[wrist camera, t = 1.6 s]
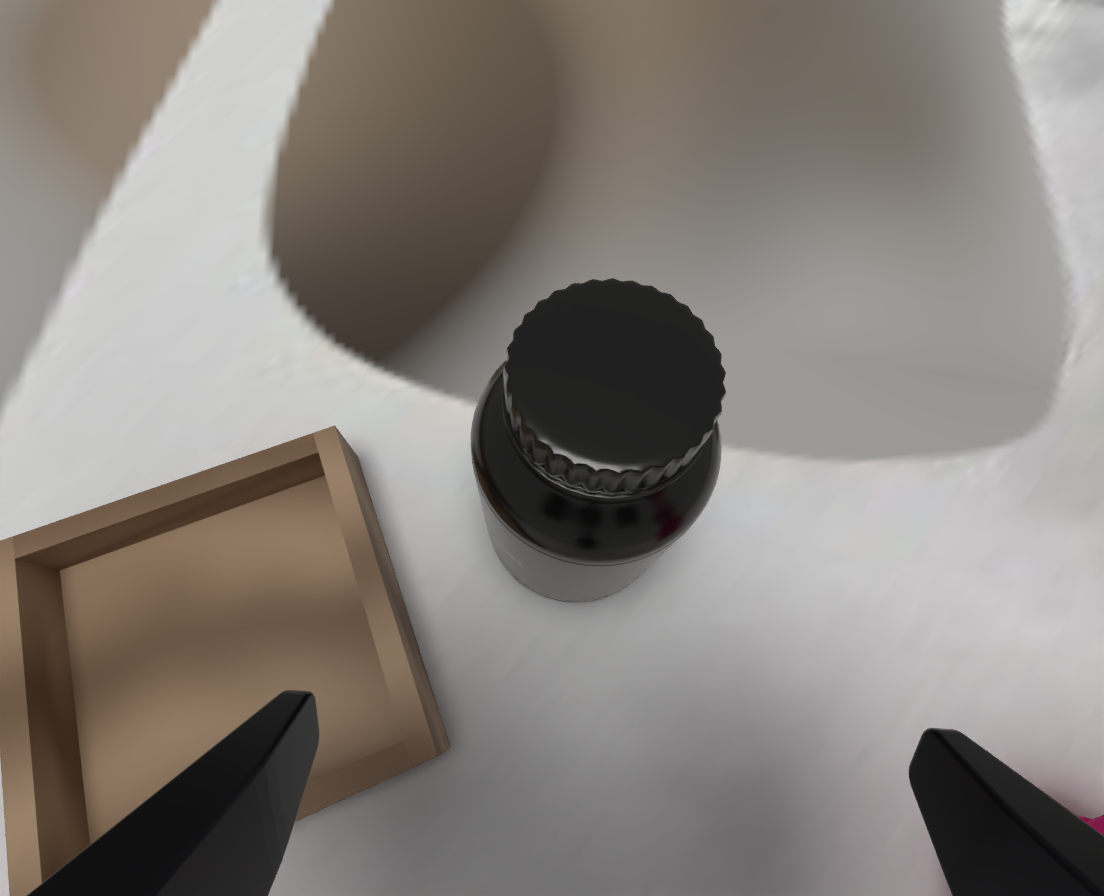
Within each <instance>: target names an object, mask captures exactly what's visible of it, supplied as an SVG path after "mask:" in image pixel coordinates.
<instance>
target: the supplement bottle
mask: <svg viewBox="0 0 1104 896" xmlns="http://www.w3.org/2000/svg"><path fill="white" fill-rule="evenodd" d="M725 374H726V373H725V371H724V368H723V367H722V365H721V353H720V351H719V350H718V349H717V348H716V347H715V343H714V337H713V336H712V335H711V334H710V333H709V332H708V331H707V330H706V329H705V327H704V324H703V321H702V320H701V319H700V318H698V317H696V316H695V315H693V314H692V312H691V310H690V309H689V307H688V306H687V305H684V304H681V303H679V302H678V301H676V299H675V298H674V297H673V296H672V295H670V294H667V293H662V292H660V291H658V290H657V289H656V288H654V287H653V286H644V285H640V284H638V283H636V282H634V281H624V282H622V281H619V280H616V279H613V278H612V279H608V280H604V281H599V280H594V279H592V280H590V281H587V282H585V283H582V284H579V283H575V284H571V285H570V286H568V287H567V288H566V289H563V290H557V291H554V292H553V293H552V294H551V295H550V297H549V298H547V299H544V300H541V301H539V302H538V303H537V305H536V306H535V308H534V310H532V311H531V312H528V313H527V314H525V316H524V319H523V322H522V324H521V325H520V326H519V327H517V328H516V329H515V330H514V333H513V341H512V342H511V344H510V345H509V346H508V348H507V350H506V361H504V363H503V364H502V365H501V366H500V367H499V368H498V369H497V370H496V371H495V373H494V374H493V375H492V377H491V378H490V380H489V381H488V383H487V385H486V386H485V388H484V390H483V392H482V394H481V396H480V398H479V400H478V403H477V406H476V409H475V412H474V417H473V421H472V429H471V454H472V464H473V468H474V473H475V478H476V482H477V486H478V490H479V494H480V498H481V503H482V507H483V511H484V515H485V519H486V523H487V527H488V531H489V534H490V537H491V540H492V543H493V546H494V548H495V550H496V553H497V554H498V556H499V558H500V560H501V561H502V562H503V564H504V565H505V567H506V568H507V569H508V570H509V571H510V573H511V574H512V575H513V576H514V577H515V578H516V579H517V580H519V581H520V582H521V583H522V584H524V585H525V586H527V587H528V588H530V589H531V590H533V591H535V592H537V593H539V594H541V595H544V596H546V597H549V598H553V599H557V600H562V601H571V602H582V601H591V600H596V599H600V598H603V597H606V596H609V595H611V594H613V593H615V592H618V591H619V590H621V589H623V588H624V587H626V586H627V585H629V584H630V583H631V582H633V581H634V580H635V579H636V578H638V577H639V576H640V575H641V574H642V573H643V572H644V571H645V570H646V569H647V568H648V567H649V566H650V565H651V564H652V563H653V562H654V561H655V560H657V559H658V558H659V557H660V556H661V555H662V554H663V553H664V552H665V551H666V550H667V549H668V548H669V547H670V546H671V545H672V544H673V543H674V542H675V541H677V540H678V539H679V538H680V537H681V536H682V535H683V534H684V533H685V532H686V531H687V530H688V529H689V528H690V526H691V525H692V524H693V523H694V522H695V521H696V519H697V518H698V517H699V515H700V514H701V512H702V511H703V509H704V508H705V506H706V505H707V503H708V501H709V499H710V497H711V495H712V493H713V490H714V487H715V485H716V482H717V478H718V474H719V469H720V462H721V436H720V429H719V424H718V420H717V419H718V418H719V417H720V415H721V412H722V407H721V406H722V405H721V401H722V400H723V398H724V396H725V393H726V391H725V387H724V384H723V381H724V378H725Z"/></svg>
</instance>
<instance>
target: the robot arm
mask: <svg viewBox="0 0 1104 896" xmlns="http://www.w3.org/2000/svg"><path fill="white" fill-rule="evenodd" d="M319 734H320V733H319V723H318V715H317V707H316V699H315V696H314V694H313V693H312V692H310V691H300V690H286V691H283V692H281V693H280V694H278V695H277V696H276V697H275V698H273V699H272V700H271V701H270V702H268V703H267V704H266V705H265V706H263V707H262V708H261V709H260V710H258V711H257V712H256V713H255V714H253V715H252V716H251V717H250V718H248V719H247V720H246V721H245V722H243V723H242V724H241V725H240V726H238V727H237V728H236V729H235V730H233V731H232V732H231V733H230V734H228V735H227V736H226V737H225V738H223V739H222V740H221V741H220V742H218V743H217V744H216V745H215V746H213V747H212V748H211V749H210V750H208V751H207V752H206V753H205V754H203V755H202V756H201V757H200V758H198V759H197V760H196V761H195V762H193V763H192V764H191V765H190V766H188V767H187V768H186V769H185V770H183V771H182V772H181V773H179V774H178V775H177V776H176V777H174V778H173V779H172V780H171V781H169V782H168V783H167V784H166V785H164V786H163V787H162V788H161V789H159V790H158V791H157V792H156V793H154V794H153V795H152V796H151V797H149V798H148V799H147V800H146V801H144V802H143V803H142V804H141V805H139V806H138V807H137V808H136V809H134V810H133V811H132V812H131V813H129V814H128V815H127V816H126V817H124V818H123V819H122V820H121V821H119V822H118V823H117V824H116V825H114V826H113V827H112V828H111V829H109V830H108V831H107V832H106V833H104V834H103V835H102V836H101V837H99V838H98V839H97V840H96V841H94V842H93V843H92V844H91V845H89V846H88V847H87V848H86V849H84V850H83V851H82V852H81V853H79V854H78V855H77V856H76V857H74V858H73V859H72V860H71V861H69V862H68V863H67V864H66V865H64V866H63V867H62V868H61V869H59V870H58V871H57V872H56V873H54V874H53V875H52V876H51V877H49V878H48V879H47V880H46V881H44V882H43V883H42V884H41V885H39V886H38V887H37V888H35V889H34V890H33V891H32V892H30V893H29V894H28V895H27V896H268V894H269V891H270V889H271V886H272V884H273V882H274V879H275V877H276V874H277V872H278V869H279V867H280V864H281V862H282V859H283V856H284V853H285V850H286V847H287V844H288V841H289V838H290V834H291V831H292V828H293V825H294V822H295V819H296V815H297V812H298V809H299V806H300V803H301V799H302V796H303V793H304V790H305V787H306V784H307V780H308V777H309V774H310V771H311V768H312V765H313V761H314V758H315V755H316V752H317V748H318V744H319ZM909 779H910V784H911V787H912V790H913V792H914V795H915V798H916V800H917V803H918V806H919V808H920V811H921V814H922V816H923V819H924V822H925V824H926V827H927V830H928V832H929V835H930V838H931V840H932V843H933V846H934V848H935V851H936V854H937V856H938V859H939V862H940V864H941V867H942V870H943V872H944V875H945V878H946V880H947V883H948V885H949V888H950V890H951V893H952V895H953V896H1104V835H1102V834H1101V833H1099V832H1098V831H1097V830H1095V829H1094V828H1093V827H1091V826H1090V825H1088V824H1087V823H1086V822H1084V821H1083V820H1081V819H1080V818H1079V817H1077V816H1076V815H1075V814H1073V813H1072V812H1070V811H1069V810H1068V809H1066V808H1065V807H1063V806H1062V805H1061V804H1059V803H1058V802H1057V801H1055V800H1054V799H1052V798H1051V797H1050V796H1048V795H1047V794H1046V793H1044V792H1043V791H1041V790H1040V789H1039V788H1037V787H1036V786H1034V785H1033V784H1032V783H1030V782H1029V781H1028V780H1026V779H1025V778H1023V777H1022V776H1021V775H1019V774H1018V773H1017V772H1015V771H1014V770H1012V769H1011V768H1010V767H1008V766H1007V765H1005V764H1004V763H1003V762H1001V761H1000V760H999V759H997V758H996V757H994V756H993V755H992V754H990V753H989V752H988V751H986V750H985V749H983V748H982V747H981V746H979V745H978V744H976V743H975V742H974V741H972V740H971V739H970V738H968V737H967V736H965V735H964V734H962V733H961V732H959V731H957V730H953V729H940V728H929V729H927V730H926V731H924V732H923V734H922V736H921V739H920V741H919V744H918V746H917V748H916V751H915V753H914V756H913V758H912V761H911V763H910V766H909Z"/></svg>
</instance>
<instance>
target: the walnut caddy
mask: <svg viewBox="0 0 1104 896" xmlns="http://www.w3.org/2000/svg"><path fill="white" fill-rule="evenodd" d="M286 690H300V691H310V692H312V693H313V694H314V696H315V699H316V707H317V715H318V723H319V733H320V734H319V744H318V748H317V752H316V755H315V758H314V761H313V765H312V768H311V771H310V774H309V777H308V780H307V784H306V787H305V790H304V793H303V796H302V799H301V803H300V806H299V809H298V812H297V815H296V819H295V821H297V820H300V819H302V818H304V817H306V816H308V815H310V814H313V813H315V812H317V811H319V810H321V809H324V808H326V807H328V806H330V805H332V804H334V803H337V802H339V801H341V800H343V799H345V798H347V797H350V796H352V795H354V794H356V793H358V792H361V791H363V790H365V789H367V788H369V787H371V786H374V785H376V784H378V783H380V782H382V781H385V780H387V779H389V778H391V777H393V776H395V775H398V774H400V773H402V772H404V771H406V770H409V769H411V768H413V767H415V766H417V765H419V764H422V763H424V762H426V761H428V760H430V759H433V758H435V757H437V756H439V755H440V754H442V753H443V752H445V751H446V750H448V749H449V748H450V745H449V742H448V739H447V736H446V733H445V730H444V726H443V723H442V720H441V717H440V714H439V711H438V708H437V704H436V701H435V698H434V695H433V692H432V689H431V686H430V683H429V679H428V676H427V673H426V670H425V667H424V664H423V661H422V657H421V654H420V651H419V648H418V645H417V642H416V639H415V636H414V632H413V629H412V626H411V623H410V620H409V617H408V614H407V610H406V607H405V604H404V601H403V598H402V595H401V592H400V589H399V585H398V582H397V579H396V576H395V573H394V570H393V567H392V563H391V560H390V557H389V554H388V551H387V548H386V545H385V542H384V538H383V535H382V532H381V529H380V526H379V523H378V520H377V517H376V513H375V510H374V507H373V504H372V501H371V498H370V495H369V491H368V488H367V485H366V482H365V479H364V476H363V473H362V470H361V466H360V463H359V460H358V457H357V455H356V454H355V452H354V451H353V450H352V448H351V447H350V446H349V444H348V443H347V442H346V440H345V439H344V437H343V436H342V435H341V433H340V432H339V431H338V429H337V428H336V427H335V426H332V427H329V428H326V429H323V430H320V431H318V432H315V433H312V434H309V435H306V436H303V437H300V438H297V439H294V440H291V441H289V442H286V443H283V444H280V445H277V446H274V447H271V448H268V449H265V450H262V451H260V452H257V453H254V454H251V455H248V456H245V457H242V458H239V459H236V460H233V461H231V462H228V463H225V464H222V465H219V466H216V467H213V468H210V469H207V470H204V471H202V472H199V473H196V474H193V475H190V476H187V477H184V478H181V479H178V480H175V481H173V482H170V483H167V484H164V485H161V486H158V487H155V488H152V489H149V490H146V491H144V492H141V493H138V494H135V495H132V496H129V497H126V498H123V499H120V500H117V501H115V502H112V503H109V504H106V505H103V506H100V507H97V508H94V509H91V510H88V511H86V512H83V513H80V514H77V515H74V516H71V517H68V518H65V519H62V520H59V521H57V522H54V523H51V524H48V525H45V526H42V527H39V528H36V529H33V530H30V531H28V532H25V533H22V534H19V535H16V536H13V537H10V538H7V539H4V540H1V541H0V757H1V772H2V787H3V802H4V817H5V832H6V847H7V862H8V877H9V892H10V896H27V895H28V894H29V893H30V892H32V891H33V890H34V889H35V888H37V887H38V886H39V885H41V884H42V883H43V882H44V881H46V880H47V879H48V878H49V877H51V876H52V875H53V874H54V873H56V872H57V871H58V870H59V869H61V868H62V867H63V866H64V865H66V864H67V863H68V862H69V861H71V860H72V859H73V858H74V857H76V856H77V855H78V854H79V853H81V852H82V851H83V850H84V849H86V848H87V847H88V846H89V845H91V844H92V843H93V842H94V841H96V840H97V839H98V838H99V837H101V836H102V835H103V834H104V833H106V832H107V831H108V830H109V829H111V828H112V827H113V826H114V825H116V824H117V823H118V822H119V821H121V820H122V819H123V818H124V817H126V816H127V815H128V814H129V813H131V812H132V811H133V810H134V809H136V808H137V807H138V806H139V805H141V804H142V803H143V802H144V801H146V800H147V799H148V798H149V797H151V796H152V795H153V794H154V793H156V792H157V791H158V790H159V789H161V788H162V787H163V786H164V785H166V784H167V783H168V782H169V781H171V780H172V779H173V778H174V777H176V776H177V775H178V774H179V773H181V772H182V771H183V770H185V769H186V768H187V767H188V766H190V765H191V764H192V763H193V762H195V761H196V760H197V759H198V758H200V757H201V756H202V755H203V754H205V753H206V752H207V751H208V750H210V749H211V748H212V747H213V746H215V745H216V744H217V743H218V742H220V741H221V740H222V739H223V738H225V737H226V736H227V735H228V734H230V733H231V732H232V731H233V730H235V729H236V728H237V727H238V726H240V725H241V724H242V723H243V722H245V721H246V720H247V719H248V718H250V717H251V716H252V715H253V714H255V713H256V712H257V711H258V710H260V709H261V708H262V707H263V706H265V705H266V704H267V703H268V702H270V701H271V700H272V699H273V698H275V697H276V696H277V695H278V694H280V693H281V692H283V691H286Z"/></svg>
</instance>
